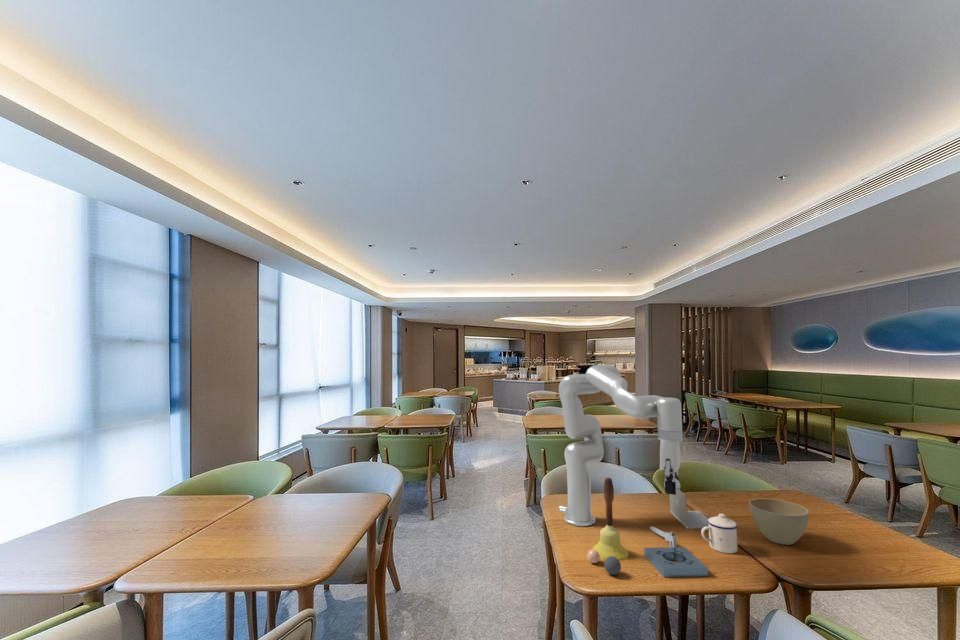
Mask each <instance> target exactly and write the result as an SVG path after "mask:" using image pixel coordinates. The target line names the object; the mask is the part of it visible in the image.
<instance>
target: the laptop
mask: <svg viewBox="0 0 960 640" xmlns="http://www.w3.org/2000/svg"><path fill="white" fill-rule="evenodd" d="M668 495H669V510H670V513H671V515H673V516H674V518H676V519H677V520H678V521H679V522H680V523H681V524H682V525H683V526H684V527H685V528H686V529H688V530H689V529H693V530H695V529H698V530H702V528H703V527H706V526H709V523H708V519H709V518H708V517H707V516H705V514H703V513H702V512H701V511H699V510H688V502H687V500H688V499H687V495H686V494H685V493H684V492H682V490H681V489H680V490H679V491H678V492H677V493H676V494H675V495H673V494H668Z"/></svg>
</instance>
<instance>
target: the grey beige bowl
mask: <svg viewBox="0 0 960 640" xmlns="http://www.w3.org/2000/svg"><path fill="white" fill-rule="evenodd" d="M748 502H749V503H748V504H749V510H750V513H751V515H752V518H753V520H754V522H755V524H756V526H757V528H758V530H759V531H760V532H761V533H762V535H764V537H765V538H766V539H767V540H769V541H770V542H772V543H776V544H778V543H779V545H784V544H785V545H786V546H787V545H794V544H795V543H796V542H797V541H799V540H800V539H801V538H802V536H803V535H804V533H805V531H806V529H807V526H808V523H809V518H810V517H809V516H810V515H809V509H807V508H806V507H804V506H802V505H800V504H798V503H795V502H794V503H793V502H790V501H787V500H786V501H785V500H780V499H773V498H763V497H761V498H760V497H759V498H753V499H751V500H749V501H748Z"/></svg>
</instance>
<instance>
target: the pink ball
mask: <svg viewBox="0 0 960 640" xmlns="http://www.w3.org/2000/svg"><path fill="white" fill-rule="evenodd" d="M586 557H587V560H588V561H589V562H590V563H591V564H597V563H598V562H599V561H600V559H601V558H600V555H599V553H598V551H596V550H594V549H592V548H591V549H589V550H588V552H587V556H586Z"/></svg>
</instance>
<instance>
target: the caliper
mask: <svg viewBox="0 0 960 640" xmlns="http://www.w3.org/2000/svg"><path fill="white" fill-rule="evenodd" d="M649 529H650V530H651V531H652V532H653V533H655V534H657V535H659V536H661V538H664V541H666V542H668V543H669V547H678V546H677V538H676V536H675V533H674V532H673V531H669V532H667V531H666V532H665V531H663V530H661V529H659V528H657V527H655V526H653V525H652V526H649Z"/></svg>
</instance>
